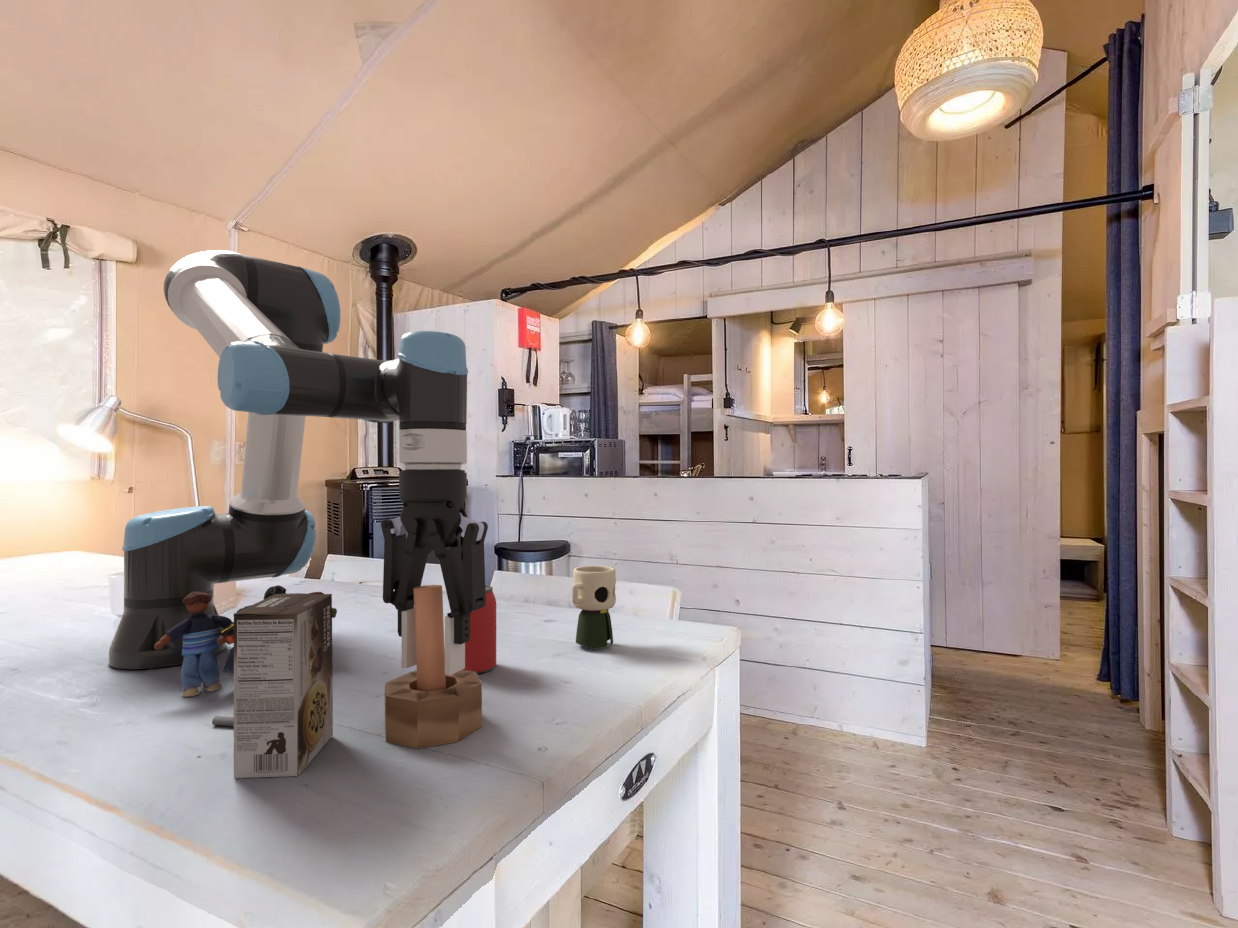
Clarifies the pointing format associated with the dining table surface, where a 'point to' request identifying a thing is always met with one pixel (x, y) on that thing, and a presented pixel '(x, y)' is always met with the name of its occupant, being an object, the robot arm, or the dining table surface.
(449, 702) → the bead
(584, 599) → the character mug
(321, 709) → the coffee box
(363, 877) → the dining table surface
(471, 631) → the beer can
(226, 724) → the grey thin rod
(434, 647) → the peach rounded rod
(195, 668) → the doll family
